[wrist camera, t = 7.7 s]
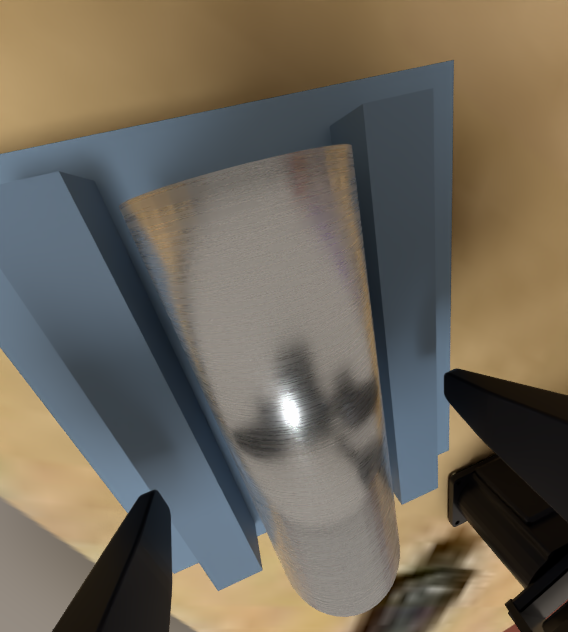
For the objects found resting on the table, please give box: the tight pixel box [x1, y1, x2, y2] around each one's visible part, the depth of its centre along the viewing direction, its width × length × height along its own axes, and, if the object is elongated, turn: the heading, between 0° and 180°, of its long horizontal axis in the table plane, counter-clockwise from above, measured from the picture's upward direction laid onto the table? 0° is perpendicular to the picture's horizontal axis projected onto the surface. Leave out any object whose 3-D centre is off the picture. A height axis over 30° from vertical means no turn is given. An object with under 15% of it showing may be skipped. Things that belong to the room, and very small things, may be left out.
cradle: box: [0, 60, 454, 591], centre depth 12 cm, size 18×16×5 cm
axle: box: [119, 144, 400, 617], centre depth 9 cm, size 14×5×5 cm, turn 14°
